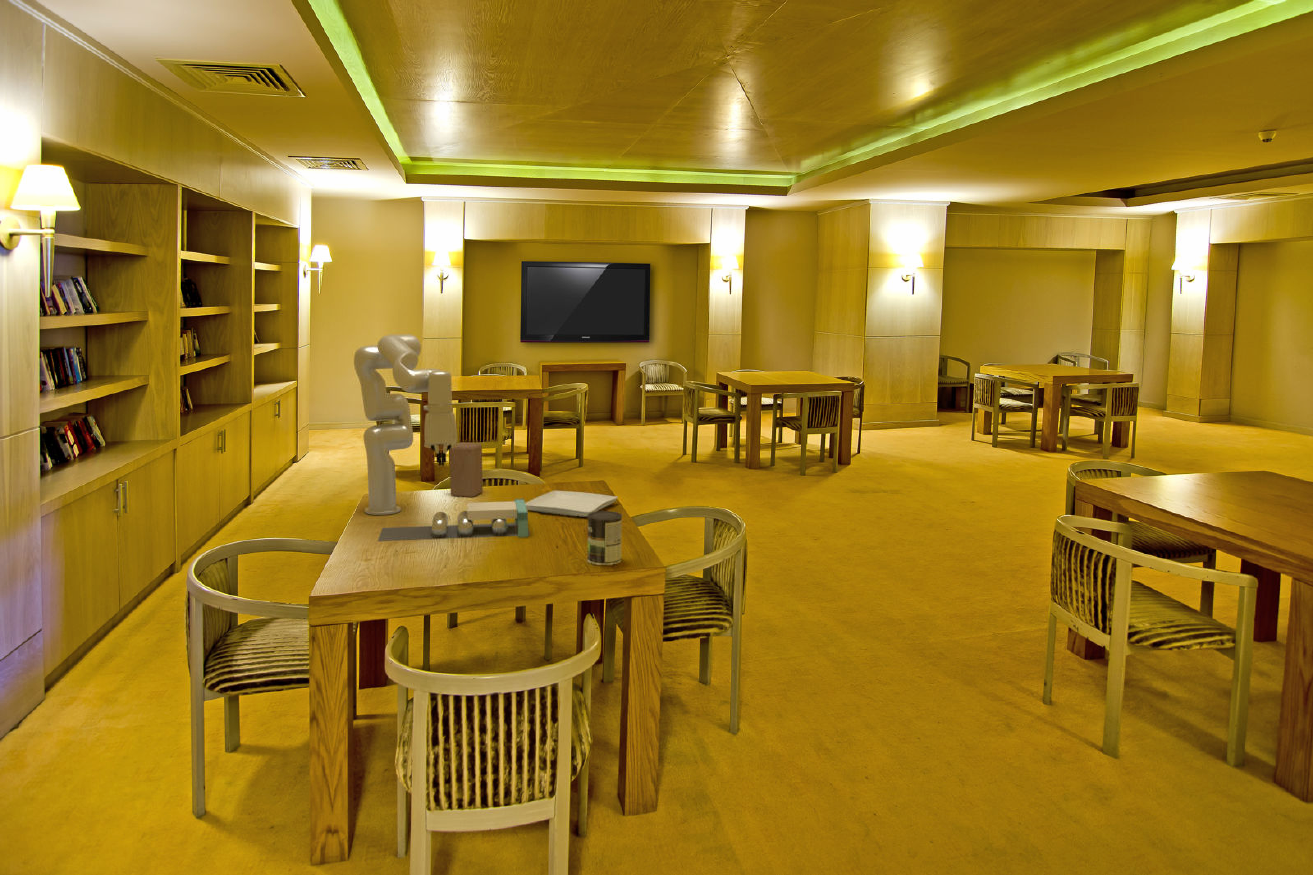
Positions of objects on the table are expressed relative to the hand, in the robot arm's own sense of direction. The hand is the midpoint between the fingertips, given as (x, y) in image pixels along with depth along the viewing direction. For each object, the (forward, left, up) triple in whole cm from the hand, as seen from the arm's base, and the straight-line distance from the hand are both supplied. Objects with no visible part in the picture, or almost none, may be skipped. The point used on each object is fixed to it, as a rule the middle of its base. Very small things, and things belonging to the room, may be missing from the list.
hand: (441, 464), depth 302 cm
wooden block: (-60, +8, -23) cm, 65 cm away
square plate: (-30, +46, -24) cm, 60 cm away
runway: (0, +4, -23) cm, 23 cm away
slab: (0, +16, -17) cm, 24 cm away
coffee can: (+40, +48, -23) cm, 67 cm away
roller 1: (0, -2, -22) cm, 22 cm away
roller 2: (0, +8, -22) cm, 24 cm away
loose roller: (0, +18, -23) cm, 29 cm away
